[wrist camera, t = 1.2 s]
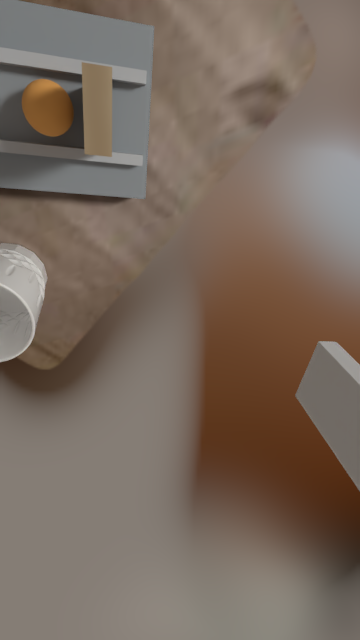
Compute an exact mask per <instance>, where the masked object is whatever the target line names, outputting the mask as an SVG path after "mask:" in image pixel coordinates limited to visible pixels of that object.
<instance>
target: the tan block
mask: <svg viewBox="0 0 360 640" xmlns="http://www.w3.org/2000/svg"><path fill="white" fill-rule="evenodd" d="M82 90H83V120H84V149H85V154H88V155H97V156H107V157H112V67H109V66H103V65H96V64H90V63H84V62H82Z"/></svg>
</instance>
